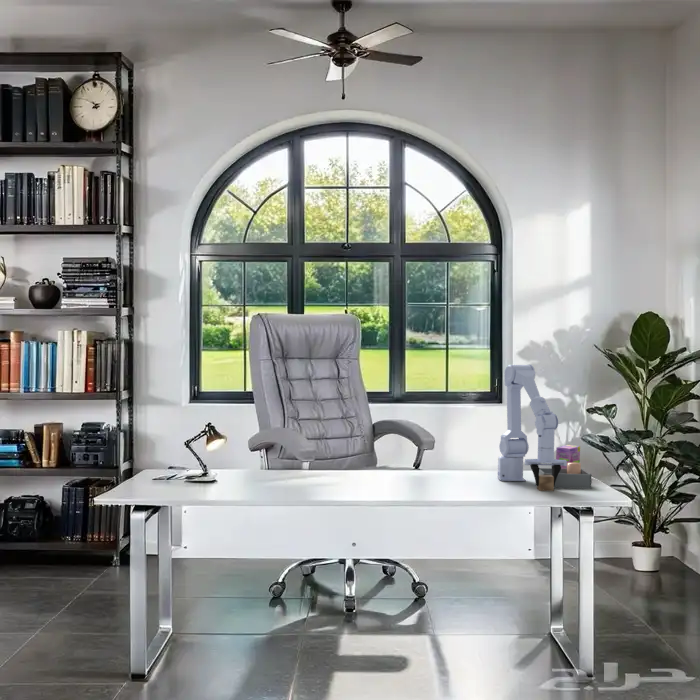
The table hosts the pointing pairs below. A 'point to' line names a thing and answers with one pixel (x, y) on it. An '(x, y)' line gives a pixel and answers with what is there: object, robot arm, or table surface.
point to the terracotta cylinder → (573, 468)
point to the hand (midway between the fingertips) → (545, 485)
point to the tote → (569, 478)
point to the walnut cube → (546, 483)
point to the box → (568, 454)
